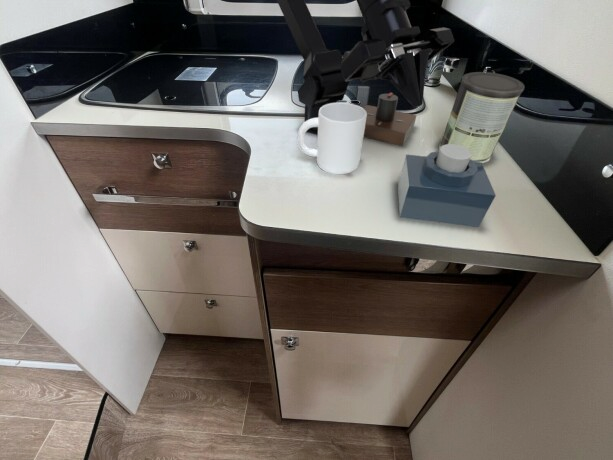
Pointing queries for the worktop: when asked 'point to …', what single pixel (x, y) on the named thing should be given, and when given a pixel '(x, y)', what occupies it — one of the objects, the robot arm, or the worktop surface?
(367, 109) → the dial panel
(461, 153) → the push button
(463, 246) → the worktop surface
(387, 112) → the dial
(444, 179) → the button base
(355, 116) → the mug
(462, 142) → the coffee can
